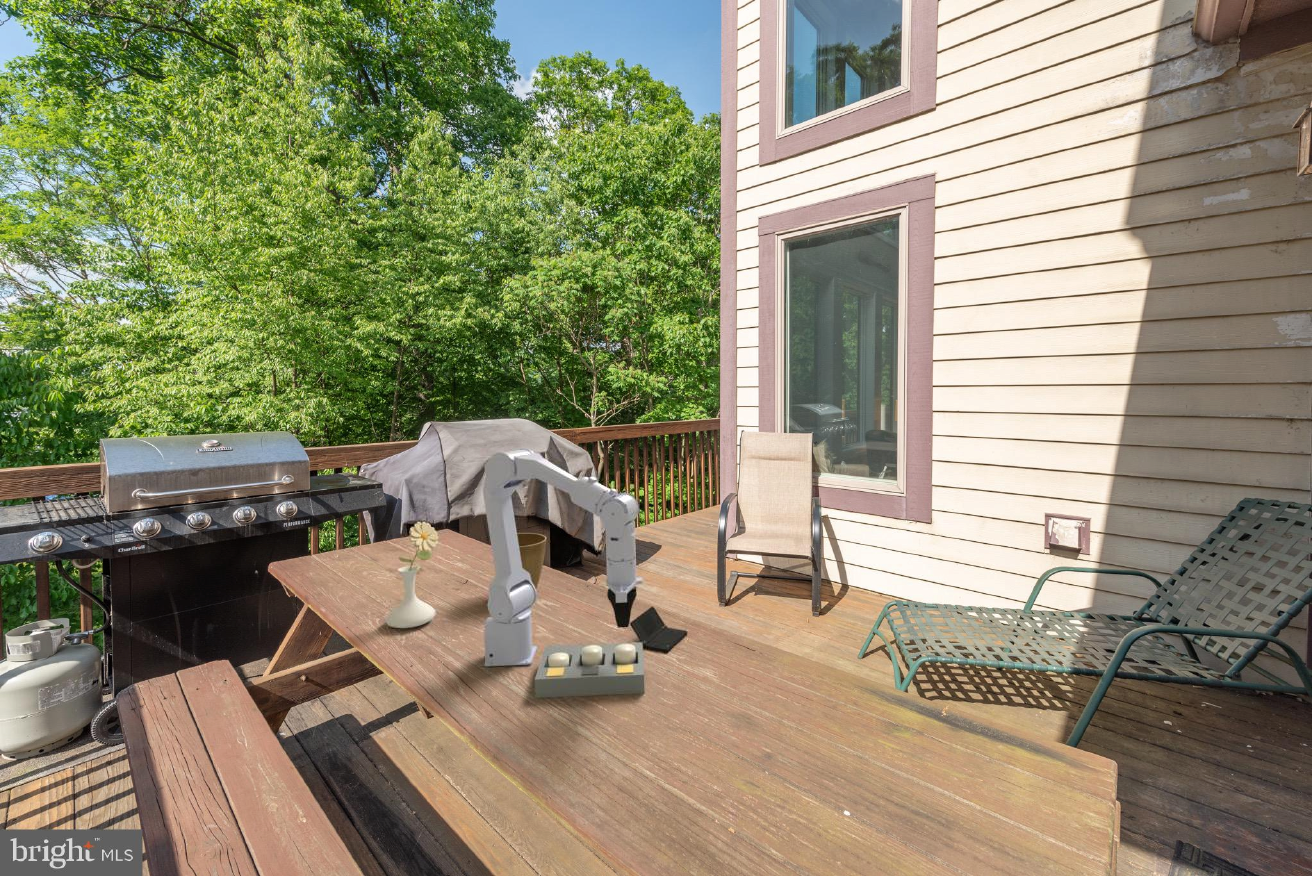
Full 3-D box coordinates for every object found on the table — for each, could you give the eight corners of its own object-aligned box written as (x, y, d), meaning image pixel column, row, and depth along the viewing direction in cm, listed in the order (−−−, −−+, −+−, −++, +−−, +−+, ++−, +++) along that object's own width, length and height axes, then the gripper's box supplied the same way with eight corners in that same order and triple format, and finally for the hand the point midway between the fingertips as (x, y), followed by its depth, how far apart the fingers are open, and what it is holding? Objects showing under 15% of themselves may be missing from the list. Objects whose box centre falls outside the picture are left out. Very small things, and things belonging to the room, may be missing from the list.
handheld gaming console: (677, 647, 120) (650, 606, 123) (651, 665, 122) (625, 624, 124) (690, 633, 131) (666, 596, 134) (666, 650, 133) (642, 613, 135)
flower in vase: (394, 637, 133) (388, 531, 131) (379, 623, 141) (374, 523, 139) (449, 621, 141) (445, 522, 139) (433, 609, 150) (428, 515, 148)
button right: (615, 668, 109) (614, 653, 109) (615, 659, 113) (615, 644, 113) (635, 667, 110) (635, 652, 109) (635, 658, 114) (635, 643, 113)
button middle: (581, 669, 109) (580, 654, 109) (582, 660, 113) (582, 645, 113) (602, 669, 109) (601, 653, 109) (602, 659, 113) (602, 644, 113)
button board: (535, 698, 104) (534, 678, 104) (546, 662, 118) (545, 645, 118) (644, 693, 105) (644, 673, 105) (642, 658, 119) (642, 641, 119)
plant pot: (484, 595, 160) (482, 539, 159) (532, 583, 170) (530, 530, 169) (508, 609, 149) (506, 549, 148) (558, 595, 158) (556, 539, 157)
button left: (547, 677, 109) (546, 662, 109) (550, 667, 113) (549, 653, 113) (568, 676, 109) (567, 661, 109) (570, 667, 113) (569, 652, 113)
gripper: (642, 567, 103) (644, 640, 104) (641, 547, 117) (642, 611, 118) (603, 569, 103) (605, 642, 104) (606, 548, 117) (608, 612, 118)
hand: (623, 626), depth 111 cm, fingers closed
